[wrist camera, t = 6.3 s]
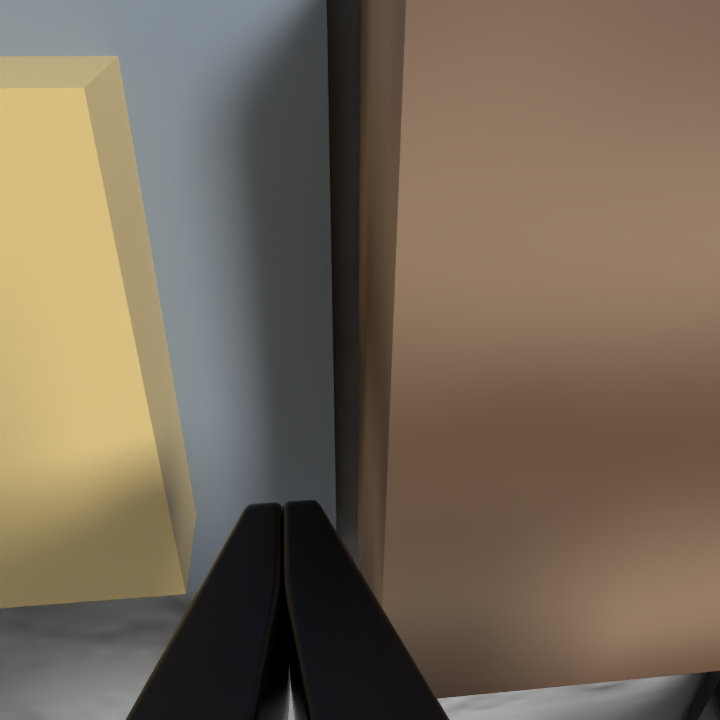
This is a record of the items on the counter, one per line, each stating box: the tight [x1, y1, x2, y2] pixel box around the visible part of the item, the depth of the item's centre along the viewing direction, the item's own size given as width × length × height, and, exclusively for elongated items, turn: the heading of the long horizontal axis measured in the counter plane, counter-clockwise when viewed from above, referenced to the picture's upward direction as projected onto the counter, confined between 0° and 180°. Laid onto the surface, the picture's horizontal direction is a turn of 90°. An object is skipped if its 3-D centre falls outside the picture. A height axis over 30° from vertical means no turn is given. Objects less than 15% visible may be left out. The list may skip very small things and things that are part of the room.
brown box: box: [357, 0, 720, 698], centre depth 11 cm, size 12×10×4 cm
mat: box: [0, 0, 336, 609], centre depth 12 cm, size 14×11×1 cm
